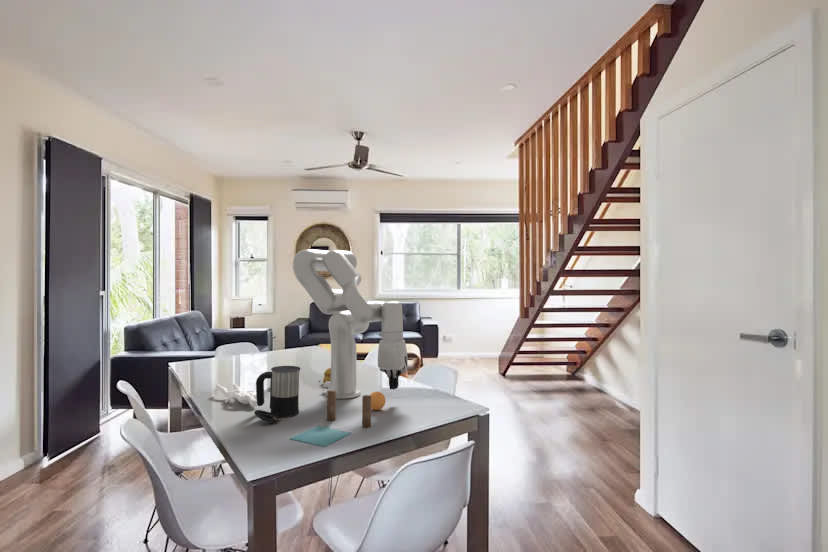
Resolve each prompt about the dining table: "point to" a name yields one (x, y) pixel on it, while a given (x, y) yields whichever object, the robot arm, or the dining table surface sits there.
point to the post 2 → (366, 411)
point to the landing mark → (320, 436)
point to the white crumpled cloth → (238, 395)
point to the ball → (377, 400)
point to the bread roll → (327, 375)
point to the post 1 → (331, 405)
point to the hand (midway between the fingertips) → (393, 388)
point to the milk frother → (279, 393)
